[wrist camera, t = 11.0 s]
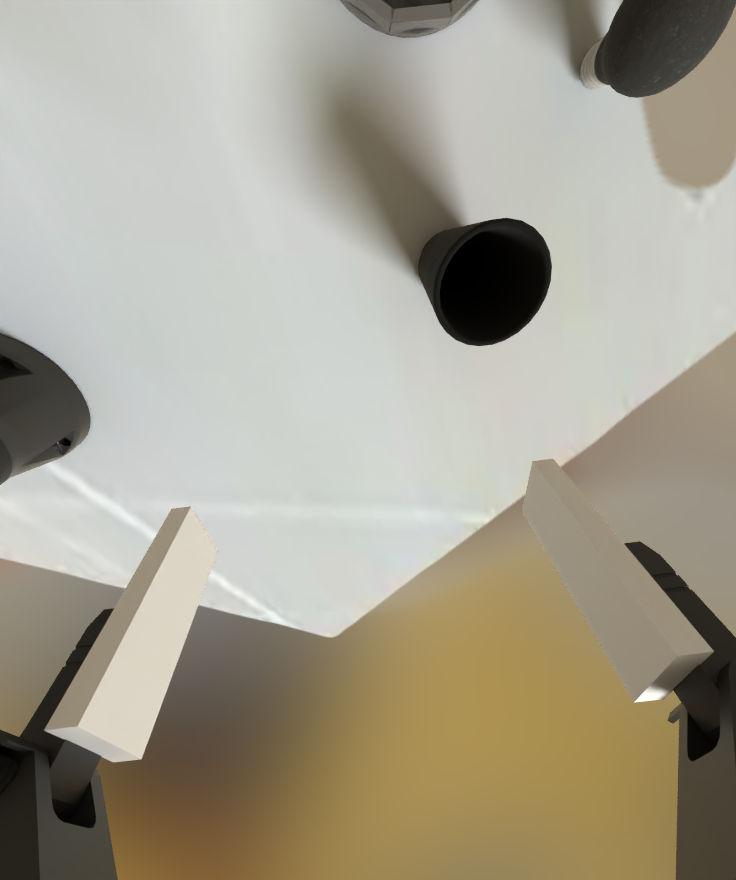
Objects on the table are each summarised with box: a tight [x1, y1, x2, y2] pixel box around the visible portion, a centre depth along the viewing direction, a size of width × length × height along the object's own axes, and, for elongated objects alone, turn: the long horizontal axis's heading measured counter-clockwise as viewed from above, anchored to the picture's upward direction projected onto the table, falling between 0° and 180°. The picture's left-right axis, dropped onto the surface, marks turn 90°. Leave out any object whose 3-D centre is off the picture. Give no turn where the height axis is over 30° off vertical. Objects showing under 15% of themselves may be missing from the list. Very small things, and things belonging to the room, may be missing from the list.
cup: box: [419, 218, 552, 346], centre depth 27 cm, size 8×8×12 cm
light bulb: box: [580, 0, 736, 98], centre depth 21 cm, size 6×6×10 cm
